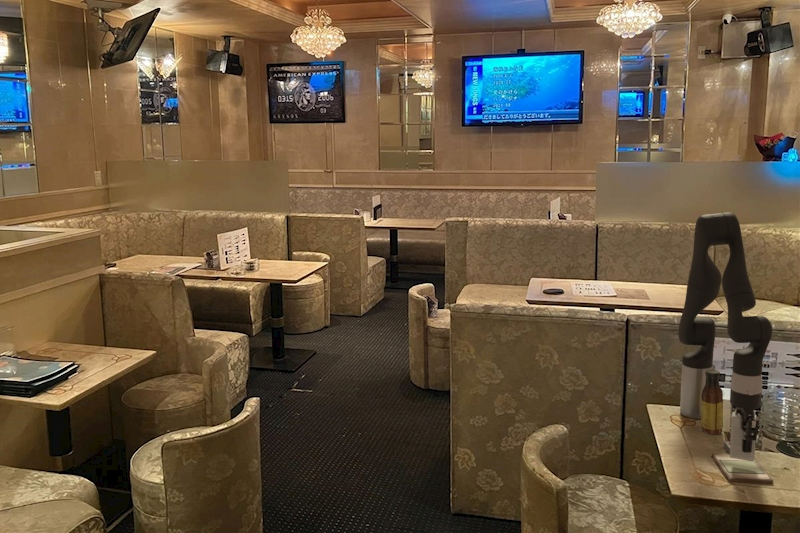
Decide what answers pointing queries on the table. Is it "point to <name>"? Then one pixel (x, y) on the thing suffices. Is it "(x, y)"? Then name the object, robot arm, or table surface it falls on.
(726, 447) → the button housing
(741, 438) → the skincare box
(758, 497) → the table surface
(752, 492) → the table surface
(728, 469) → the beige flat rectangular slab
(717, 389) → the sauce bottle
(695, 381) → the robot arm
